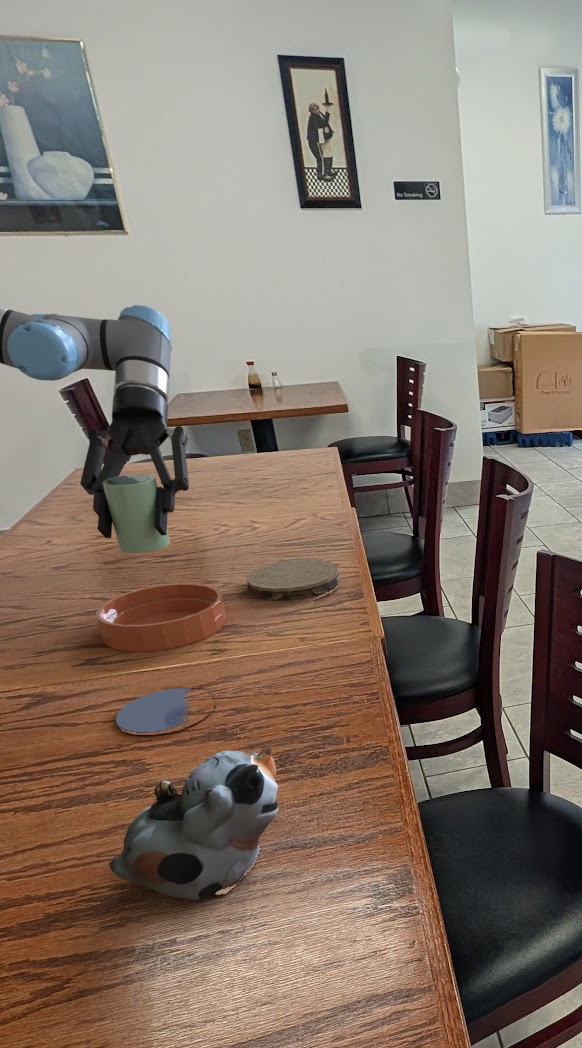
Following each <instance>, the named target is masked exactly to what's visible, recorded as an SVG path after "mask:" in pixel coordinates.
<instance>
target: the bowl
mask: <svg viewBox="0 0 582 1048" xmlns="http://www.w3.org/2000/svg"><path fill="white" fill-rule="evenodd" d="M94 614H95V618H96V621H97V625H98V628H99V632H100V635H101V639H102V641H103V644H104V645H105V646H107V647H109V648H111V649H113V650H117V651H123V652H128V653H129V652H131V653H132V652H135V653H136V652H140V653H141V652H142V653H147V652H155V651H156V652H157V651H165V650H170V649H174V648H179V647H183V646H187V645H191V644H193V643H196V642H199V641H202V640H204V639H206V638H209V637H210V636H212V635H215V634H216V633H217V632H219V631H220V630H221V629H222V628H223V627H224V626H225V625H226V622H227V618H228V617H227V612H226V608H225V602H224V598H223V594H222V593H221V591H220V590H219V588H216V587H214V586H211V585H208V584H201V583H187V582H185V583H168V584H159V585H154V586H147V587H143V588H138V589H136V590H133V591H129V592H125V593H122V594H120V595H117V596H115V597H113V598H110V599H109V600H107V601H106V602H104V603H103V604H101V605H100V606H99V607H98V609H97V610H96V611H95V613H94Z"/></svg>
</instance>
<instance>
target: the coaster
mask: <svg viewBox="0 0 582 1048" xmlns="http://www.w3.org/2000/svg"><path fill="white" fill-rule="evenodd" d="M189 688H191V689H192V688H193V687H176V688H169V689H164V690H163V689H162V690H158V691H154V692H151V693H147V694H146V695H143V696H140V697H137V698H136V699H134V700H132V701H130V702H129V703H127V704H125V705H124V706H123V707H122V708H121V709H119V711H118V712H117V714H116V716H115V724H116V726H117V725H118V727H120V728H121V729H123V730H125V731H130V732H136V733H147V732H148V733H149V732H150V733H151V732H160V731H164V730H168V729H170V728H173V727H179V725H180V724H182V726H183V723H186V722H189V721H190V720H189V721H188V720H187V719H188V718H187V717H188V716H189V715H188V716H186V717H185V716H184V715H185V714H186V711H187V710H188V708H189V706H186V705H189V704H190V703H189V704H186V702H187V699H186V701H184V700H185V698H186V696H185V693H186V695H188V694H189V693H188V692H189V691H190V690H189ZM186 690H187V691H188V692H186ZM196 691H197V690H196ZM190 693H191V691H190ZM179 695H180V696H179ZM184 696H185V698H184ZM189 696H190V695H189ZM187 698H189V697H187ZM190 699H191V698H190ZM179 701H180V702H179ZM181 701H182V702H181ZM188 701H189V700H188ZM187 703H188V702H187ZM184 704H185V705H184ZM198 705H199V704H198ZM185 706H186V707H185ZM190 706H191V705H190ZM187 707H188V708H187ZM190 708H191V707H190ZM185 709H187V710H185ZM184 710H185V712H184ZM189 710H190V709H189ZM180 712H181V713H180ZM182 712H183V713H182ZM187 712H188V711H187ZM189 712H190V711H189ZM184 713H185V714H184ZM178 714H179V715H178ZM180 714H181V715H180ZM174 715H175V716H174ZM186 715H187V714H186ZM181 716H182V717H181ZM183 716H184V717H183ZM190 716H191V715H190ZM177 717H178V718H177ZM179 717H180V718H179ZM183 718H187V719H185V720H187V721H185V722H184V719H183ZM177 719H178V720H177ZM182 719H183V720H182ZM169 720H170V721H169ZM171 720H172V721H171ZM193 720H194V719H193ZM180 721H181V722H180ZM182 721H183V722H182ZM176 722H177V723H176ZM178 722H179V723H178ZM178 724H179V725H178ZM172 725H173V726H172ZM174 725H175V726H174ZM184 725H185V724H184ZM166 726H167V727H166ZM168 726H169V727H168ZM180 726H181V725H180ZM118 727H117V728H118Z"/></svg>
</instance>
